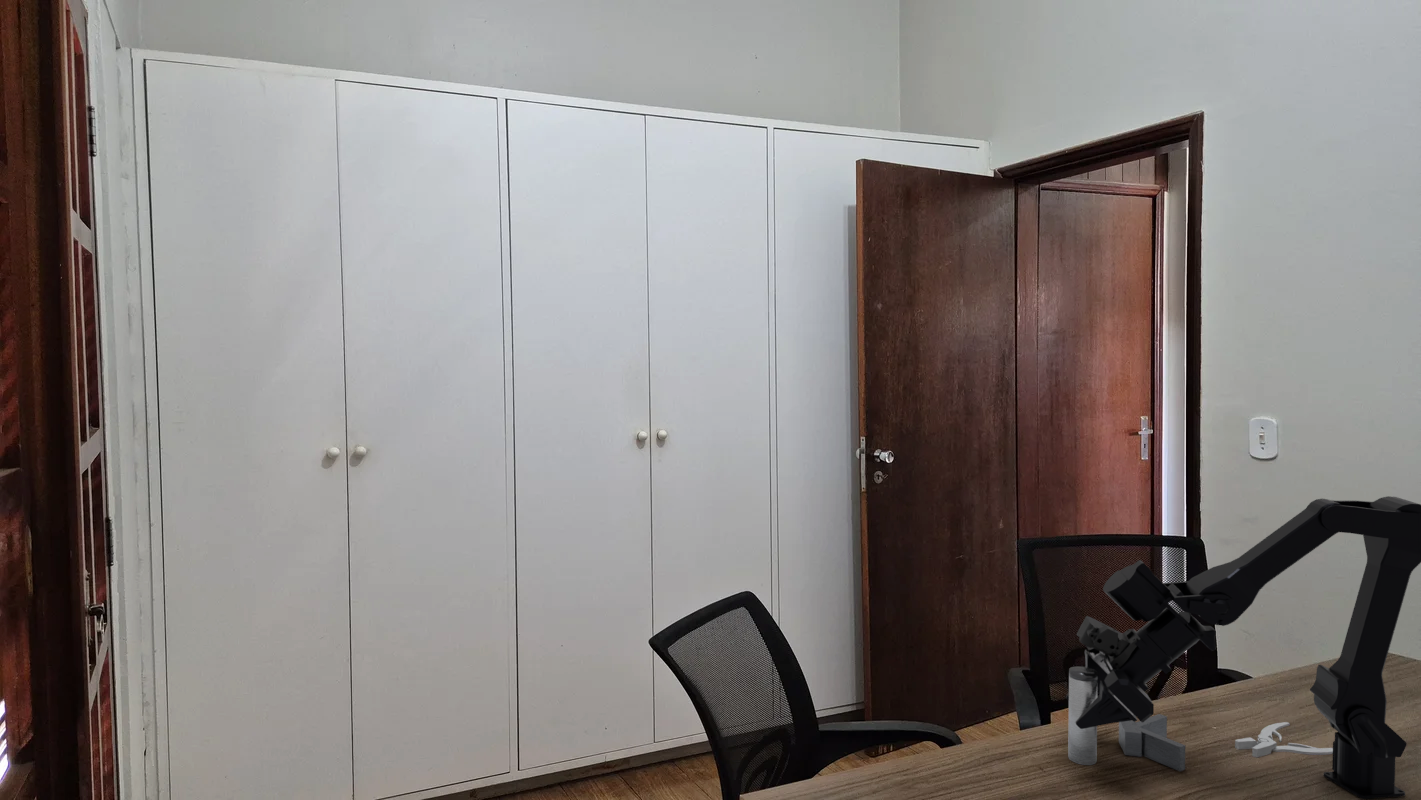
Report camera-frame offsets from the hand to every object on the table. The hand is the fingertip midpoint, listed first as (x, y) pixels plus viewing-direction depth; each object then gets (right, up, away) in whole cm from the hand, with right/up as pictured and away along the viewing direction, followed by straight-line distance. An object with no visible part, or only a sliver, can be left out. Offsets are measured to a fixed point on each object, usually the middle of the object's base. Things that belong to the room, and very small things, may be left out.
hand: (1072, 712), depth 124 cm
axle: (+1, -7, 0) cm, 7 cm away
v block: (+12, -6, +2) cm, 14 cm away
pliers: (+33, -7, +4) cm, 34 cm away
